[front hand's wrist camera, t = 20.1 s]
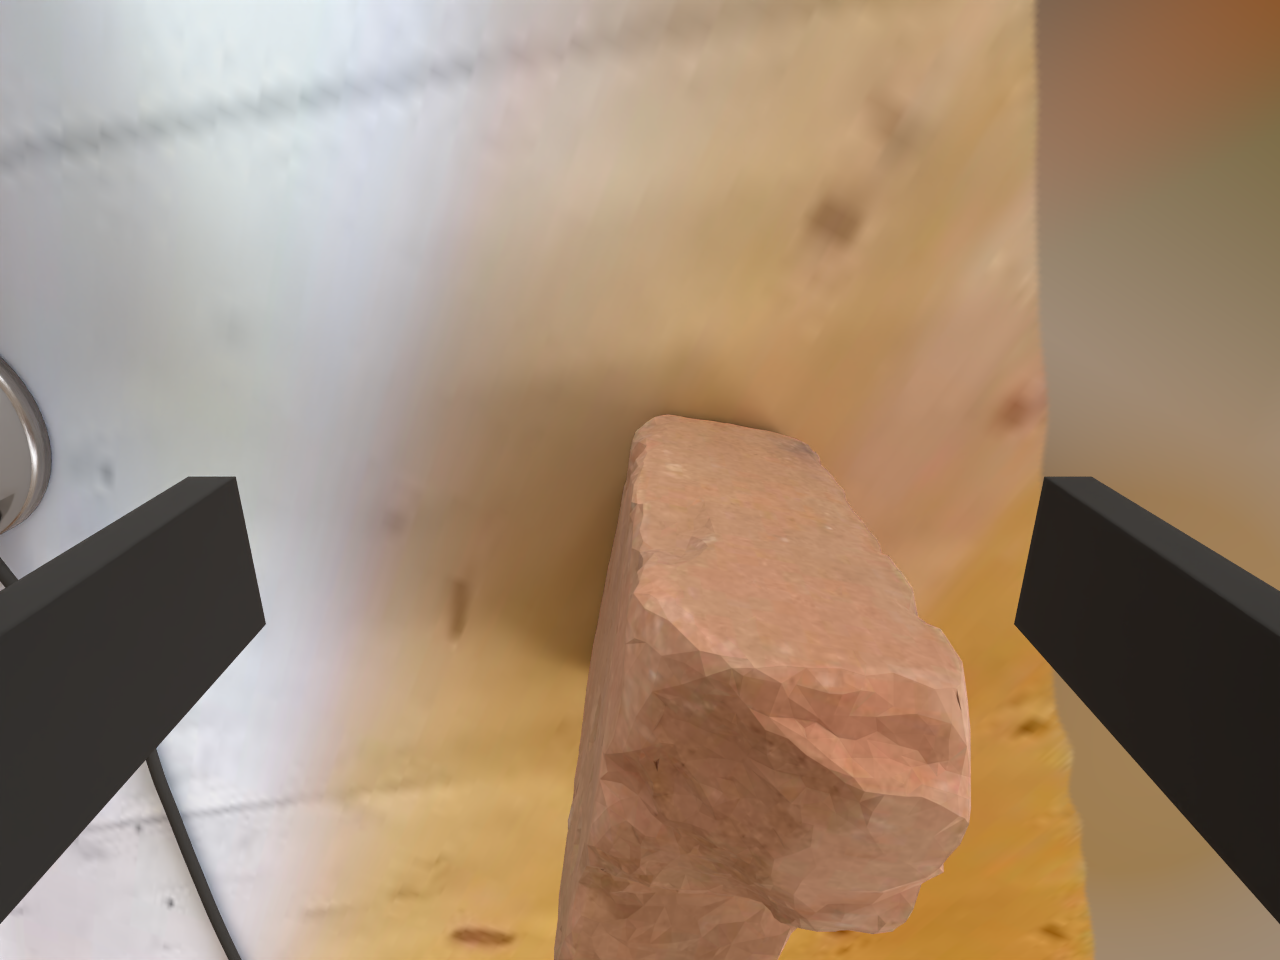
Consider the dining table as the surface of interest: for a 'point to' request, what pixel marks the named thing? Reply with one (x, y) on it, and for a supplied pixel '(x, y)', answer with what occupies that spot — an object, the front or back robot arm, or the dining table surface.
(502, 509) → the dining table surface
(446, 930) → the dining table surface
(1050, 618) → the front robot arm
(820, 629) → the stone
